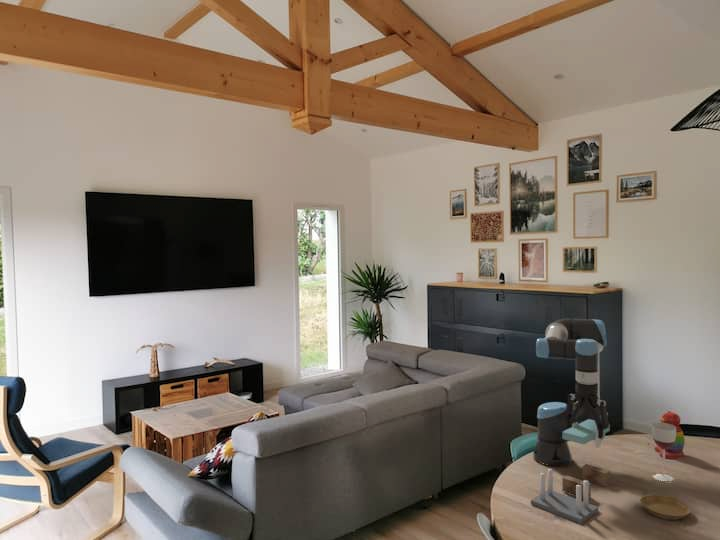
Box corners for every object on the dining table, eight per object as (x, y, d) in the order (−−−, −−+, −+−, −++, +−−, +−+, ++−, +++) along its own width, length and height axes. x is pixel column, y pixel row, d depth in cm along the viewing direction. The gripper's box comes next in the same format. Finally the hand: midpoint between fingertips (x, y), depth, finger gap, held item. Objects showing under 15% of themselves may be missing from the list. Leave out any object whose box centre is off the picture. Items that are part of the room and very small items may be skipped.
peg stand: (530, 504, 188) (530, 474, 187) (548, 493, 196) (548, 464, 195) (580, 523, 174) (580, 491, 174) (598, 511, 182) (598, 480, 182)
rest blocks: (562, 491, 197) (562, 477, 197) (586, 476, 209) (586, 464, 209) (586, 499, 190) (586, 485, 190) (609, 484, 202) (609, 471, 202)
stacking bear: (653, 448, 236) (653, 408, 235) (678, 449, 234) (679, 409, 233) (661, 458, 225) (662, 416, 224) (688, 459, 223) (689, 417, 222)
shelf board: (583, 444, 189) (583, 437, 189) (562, 438, 195) (562, 431, 195) (609, 430, 202) (609, 424, 202) (588, 425, 208) (588, 419, 208)
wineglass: (674, 475, 209) (675, 424, 208) (677, 484, 201) (677, 431, 200) (651, 471, 212) (651, 421, 211) (652, 480, 204) (653, 428, 203)
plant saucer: (641, 498, 191) (641, 490, 191) (690, 507, 184) (690, 500, 184) (638, 516, 179) (638, 508, 179) (691, 527, 171) (691, 519, 171)
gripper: (554, 378, 203) (554, 438, 204) (610, 389, 187) (610, 454, 189) (564, 375, 208) (564, 433, 209) (620, 385, 192) (619, 448, 194)
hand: (586, 443), depth 199 cm, fingers closed on shelf board, 8 cm apart
